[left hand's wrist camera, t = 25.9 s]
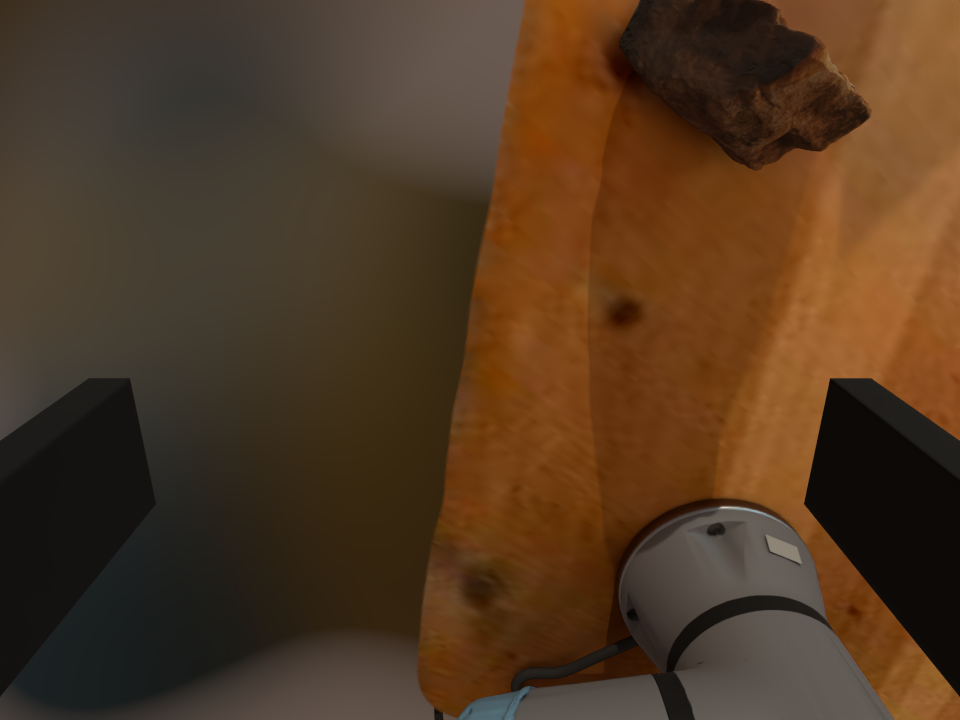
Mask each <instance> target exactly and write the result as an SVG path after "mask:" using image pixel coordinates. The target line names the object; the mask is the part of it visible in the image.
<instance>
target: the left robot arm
mask: <svg viewBox="0 0 960 720" xmlns="http://www.w3.org/2000/svg"><path fill="white" fill-rule="evenodd" d="M155 504H156V502H155V497H154V492H153V488H152V483H151V478H150V473H149V468H148V464H147V459H146V454H145V449H144V444H143V439H142V435H141V430H140V425H139V421H138V415H137V411H136V406H135V401H134V396H133V392H132V387H131V382H130V379H129V378H89V379H87V380H86V381H85V382H83V383H82V384H80V385H79V386H77V387H76V388H75V389H73V390H72V391H70V392H69V393H68V394H66V395H65V396H63V397H62V398H60V399H59V400H58V401H56V402H55V403H53V404H52V405H50V406H49V407H48V408H46V409H45V410H43V411H42V412H41V413H39V414H38V415H36V416H35V417H33V418H32V419H31V420H29V421H28V422H26V423H25V424H23V425H22V426H21V427H19V428H18V429H16V430H15V431H14V432H12V433H11V434H9V435H8V436H6V437H5V438H4V439H2V440H1V441H0V696H1V695H2V694H3V693H4V691H5V690H6V689H7V688H8V686H9V685H10V684H11V683H12V681H13V680H14V679H15V678H16V676H17V675H18V674H19V673H20V671H21V670H22V669H23V668H24V667H25V665H26V664H27V663H28V662H29V660H30V659H31V658H32V657H33V655H34V654H35V653H36V652H37V650H38V649H39V648H40V647H41V645H42V644H43V643H44V642H45V641H46V639H47V638H48V637H49V636H50V634H51V633H52V632H53V631H54V629H55V628H56V627H57V626H58V624H59V623H60V622H61V621H62V620H63V618H64V617H65V616H66V615H67V613H68V612H69V611H70V610H71V608H72V607H73V606H74V605H75V603H76V602H77V601H78V600H79V599H80V597H81V596H82V595H83V593H84V592H85V591H86V590H87V589H88V587H89V586H90V585H91V584H92V582H93V581H94V580H95V579H96V577H97V576H98V575H99V574H100V573H101V571H102V570H103V569H104V567H105V566H106V565H107V564H108V563H109V561H110V560H111V559H112V558H113V556H114V555H115V554H116V553H117V551H118V550H119V549H120V548H121V547H122V545H123V544H124V543H125V542H126V540H127V539H128V538H129V537H130V535H131V534H132V533H133V532H134V530H135V529H136V528H137V527H138V526H139V524H140V523H141V522H142V521H143V519H144V518H145V517H146V516H147V514H148V513H149V512H150V511H151V509H152V508H153V507H154V506H155ZM804 504H805V506H806V507H807V508H808V509H809V511H810V512H811V513H812V514H813V516H814V517H815V518H816V519H817V521H818V522H819V523H820V524H821V526H822V527H823V528H824V529H825V530H826V532H827V533H828V534H829V535H830V537H831V538H832V539H833V540H834V542H835V543H836V544H837V545H838V547H839V548H840V549H841V550H842V551H843V553H844V554H845V555H846V556H847V558H848V559H849V560H850V561H851V563H852V564H853V565H854V566H855V568H856V569H857V570H858V571H859V573H860V574H861V575H862V576H863V577H864V579H865V580H866V581H867V582H868V584H869V585H870V586H871V587H872V589H873V590H874V591H875V592H876V594H877V595H878V596H879V597H880V599H881V600H882V601H883V602H884V603H885V605H886V606H887V607H888V608H889V610H890V611H891V612H892V613H893V615H894V616H895V617H896V618H897V620H898V621H899V622H900V623H901V624H902V626H903V627H904V628H905V629H906V631H907V632H908V633H909V634H910V636H911V637H912V638H913V639H914V641H915V642H916V643H917V644H918V646H919V647H920V648H921V649H922V650H923V652H924V653H925V654H926V655H927V657H928V658H929V659H930V660H931V662H932V663H933V664H934V665H935V667H936V668H937V669H938V670H939V671H940V673H941V674H942V675H943V676H944V678H945V679H946V680H947V681H948V683H949V684H950V685H951V686H952V688H953V689H954V690H955V691H956V693H957V694H958V695H959V696H960V441H959V440H958V439H956V438H955V437H954V436H952V435H951V434H949V433H948V432H946V431H945V430H944V429H942V428H941V427H939V426H938V425H937V424H935V423H934V422H932V421H931V420H929V419H928V418H927V417H925V416H924V415H922V414H921V413H919V412H918V411H917V410H915V409H914V408H912V407H911V406H910V405H908V404H907V403H905V402H904V401H902V400H901V399H900V398H898V397H897V396H895V395H894V394H892V393H891V392H890V391H888V390H887V389H885V388H884V387H883V386H881V385H880V384H878V383H877V382H875V381H874V380H873V379H871V378H830V382H829V387H828V391H827V396H826V401H825V406H824V411H823V415H822V420H821V425H820V430H819V435H818V439H817V444H816V449H815V454H814V459H813V463H812V468H811V473H810V478H809V483H808V487H807V492H806V497H805V502H804ZM616 591H617V598H618V602H619V606H620V609H621V613H622V616H623V619H624V621H625V623H626V625H627V627H628V629H629V631H630V633H631V636H629V637H627V638H625V639H622V640H620V641H618V642H616V643H613V644H611V645H609V646H607V647H604V648H602V649H600V650H597V651H595V652H593V653H591V654H589V655H587V656H585V657H582V658H580V659H578V660H576V661H574V662H571V663H569V664H566V665H563V666H559V667H554V668H537V667H535V668H527V669H524V670H522V671H520V672H519V673H518V674H517V675H516V676H515V677H514V678H513V680H512V683H511V691H512V692H511V693H506V694H501V695H495V696H490V697H484V698H480V699H477V700H475V701H474V702H472V703H471V704H469V705H468V706H467V707H466V708H465V709H464V710H463V712H462V713H461V715H460V716H459V718H458V720H894V719H893V717H892V716H891V714H890V713H889V711H888V710H887V708H886V707H885V705H884V704H883V702H882V701H881V699H880V698H879V697H878V695H877V694H876V692H875V691H874V689H873V688H872V686H871V685H870V683H869V682H868V680H867V679H866V678H865V676H864V675H863V673H862V672H861V670H860V669H859V667H858V666H857V664H856V663H855V661H854V660H853V658H852V657H851V656H850V654H849V653H848V651H847V650H846V648H845V647H844V645H843V644H842V642H841V641H840V639H839V638H838V637H837V635H836V634H835V632H834V631H833V629H832V628H831V626H830V625H829V623H828V622H827V619H826V614H825V608H824V603H823V599H822V594H821V590H820V586H819V582H818V575H817V571H816V567H815V564H814V561H813V559H812V557H811V555H810V552H809V550H808V548H807V547H806V545H805V544H804V542H803V541H802V539H801V538H800V536H799V535H798V534H797V532H796V531H795V530H794V529H793V527H792V526H791V525H790V524H789V523H788V522H787V521H786V520H785V519H784V518H782V517H781V516H779V515H778V514H777V513H775V512H773V511H771V510H770V509H767V508H765V507H763V506H760V505H757V504H754V503H751V502H746V501H741V500H733V499H714V500H706V501H700V502H695V503H692V504H688V505H685V506H682V507H680V508H677V509H675V510H673V511H670V512H668V513H666V514H665V515H663V516H661V517H659V518H658V519H656V520H655V521H654V522H652V523H651V524H650V525H648V526H647V527H646V528H645V529H644V530H643V531H642V532H641V533H640V534H639V535H638V536H637V537H636V538H635V539H634V540H633V542H632V543H631V544H630V546H629V547H628V549H627V550H626V552H625V554H624V556H623V558H622V560H621V563H620V566H619V569H618V573H617V580H616ZM638 645H639V646H640V647H641V648H642V649H643V651H644V652H645V653H646V654H647V656H648V657H649V658H650V659H651V661H652V662H653V663H654V664H655V666H656V667H657V668H658V669H659V671H660V672H661V673H659V674H647V675H639V676H631V677H624V678H616V679H609V680H601V681H593V682H586V683H578V684H568V685H559V686H550V687H541V688H535V687H532V686H526V687H524V688H522V689H521V685H522V684H523V682H525V681H527V680H529V679H556V678H562V677H565V676H568V675H571V674H574V673H577V672H579V671H581V670H583V669H586V668H588V667H590V666H592V665H594V664H596V663H598V662H601V661H603V660H605V659H608V658H610V657H612V656H615V655H617V654H619V653H622V652H624V651H626V650H628V649H631V648H633V647H635V646H638ZM434 719H435V720H444V719H443V712H440V711H439V710H437V709H436V708H434Z"/></svg>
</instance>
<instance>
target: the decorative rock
mask: <svg viewBox="0 0 960 720" xmlns="http://www.w3.org/2000/svg"><path fill="white" fill-rule="evenodd" d="M619 47H620V49H621V50H622V51H623V52H624V54H625V56H626V58H627V60H628V61H629V63H630V65H631V66H632V67H633V69H634V70H635V71H636V72H637V73H638V74H639V76H640V77H641V78H642V79H643V80H644V81H645V82H646V84H647V86H648V87H649V88H650V89H651V90H652V91H653V92H654V93H655V94H657V95H659V96H661V97H662V99H663V100H664V102H665V103H666V104H667V105H668V106H669V107H670V108H671V109H672V110H674V111H675V112H676V113H677V114H678V115H679V116H680V117H682V118H683V119H685V120H686V121H688V122H689V123H691V124H692V125H694V126H695V127H696V128H698V129H699V130H700V131H702V132H704V133H706V134H708V135H709V136H711V137H712V138H713V139H714V140H715V141H716V142H717V143H718V144H719V145H720V146H721V148H722V149H723V150H724V151H725V153H726V154H727V155H728V156H730V157H731V158H732V159H733V160H734V161H736V162H738V163H740V164H745V165H746V166H747V167H749V168H751V169H753V170H756V171H757V170H760V169H762V167H763V166H764V165H766V164H770V163H773V162H776V161H777V160H779V159H780V158H781V157H782V156H783V155H784V154H786V153H787V152H789V151H791V150H792V149H794V148H801V149H805V150H810V151H822V150H824V149H826V148H828V146H829V145H830V144H831V143H834V142H836V141H837V140H839V139H840V138H841V137H843V136H844V135H846V134H848V133H849V132H851V131H852V130H854V129H855V128H857V127H859V126H860V125H862V124H863V123H864V122H865V121H866V120H868V119H869V118H870V117H871V113H872V109H871V107H870V106H869V104H868V103H867V102H866V101H865V100H864V99H863V97H862V96H860V95H859V94H858V92H857V90H856V88H855V86H854V85H853V84H851V83H850V82H849V80H848V78H847V76H846V75H845V74H843V73H842V72H840V71H839V70H838V69H837V67H836V66H835V65H833V64H832V63H831V60H830V57H829V54H828V51H827V49H826V47H825V45H824V44H823V43H822V42H821V41H820V40H819V39H818V38H817V37H815V36H812V35H809V34H807V33H804V32H799V31H794V30H791V29H790V28H789V27H788V24H787V22H786V21H785V19H783V18H782V15H781V12H780V10H779V9H777V8H776V7H774V6H772V5H771V4H768V3H766V2H763V1H759V0H640V2H639V5H638V6H637V8H636V10H635V12H634V14H633V16H632V18H631V20H630V22H629V24H628V26H627V28H626V30H625V31H624V33H623V35H622V37H621V40H620V42H619Z"/></svg>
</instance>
